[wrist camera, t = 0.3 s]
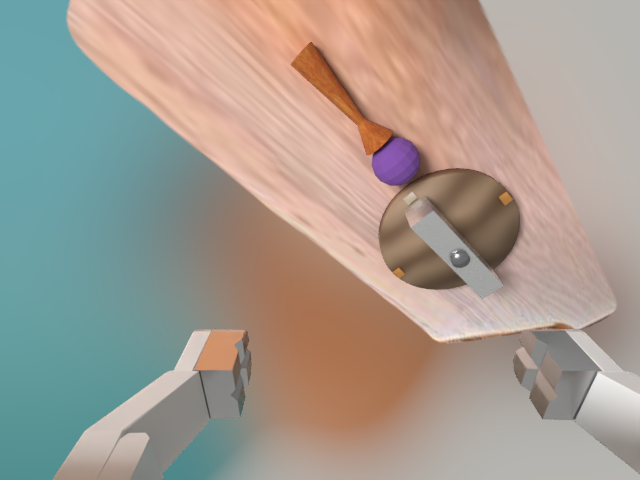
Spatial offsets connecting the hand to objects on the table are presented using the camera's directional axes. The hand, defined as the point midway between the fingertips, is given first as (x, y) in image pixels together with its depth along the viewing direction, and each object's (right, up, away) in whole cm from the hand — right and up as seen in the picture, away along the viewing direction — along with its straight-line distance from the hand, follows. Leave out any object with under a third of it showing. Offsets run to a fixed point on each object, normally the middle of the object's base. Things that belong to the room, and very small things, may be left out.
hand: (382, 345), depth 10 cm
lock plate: (+17, +5, +42) cm, 46 cm away
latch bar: (+17, +3, +40) cm, 44 cm away
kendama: (+3, +19, +34) cm, 39 cm away
